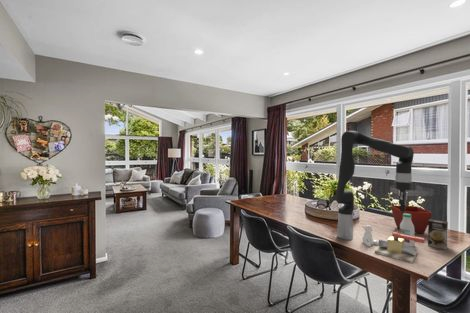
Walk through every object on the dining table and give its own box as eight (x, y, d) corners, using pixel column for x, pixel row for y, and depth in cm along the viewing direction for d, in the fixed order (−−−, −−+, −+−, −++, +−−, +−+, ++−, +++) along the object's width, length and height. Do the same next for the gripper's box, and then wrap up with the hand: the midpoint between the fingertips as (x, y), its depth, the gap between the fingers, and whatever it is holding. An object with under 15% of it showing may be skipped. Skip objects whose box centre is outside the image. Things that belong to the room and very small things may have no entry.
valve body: (377, 248, 140) (377, 236, 140) (381, 245, 145) (381, 234, 145) (412, 257, 128) (412, 244, 127) (415, 253, 132) (415, 241, 132)
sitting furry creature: (368, 247, 146) (368, 228, 146) (357, 242, 154) (357, 224, 154) (380, 245, 148) (380, 226, 148) (368, 240, 157) (368, 223, 156)
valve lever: (391, 238, 136) (391, 233, 136) (393, 237, 139) (393, 231, 139) (423, 245, 125) (423, 239, 125) (424, 243, 128) (424, 238, 128)
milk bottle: (408, 242, 152) (408, 212, 152) (417, 247, 145) (417, 215, 145) (396, 242, 152) (396, 212, 152) (405, 247, 145) (405, 215, 144)
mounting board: (374, 252, 137) (374, 250, 137) (382, 245, 148) (382, 243, 148) (412, 263, 124) (412, 260, 124) (417, 253, 135) (417, 251, 135)
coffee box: (427, 245, 147) (427, 220, 147) (428, 243, 152) (428, 218, 151) (447, 249, 140) (447, 223, 140) (447, 246, 145) (447, 221, 145)
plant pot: (432, 235, 165) (432, 212, 165) (402, 234, 169) (402, 211, 169) (417, 227, 184) (417, 206, 184) (390, 226, 188) (390, 205, 187)
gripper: (410, 182, 123) (409, 215, 124) (413, 180, 133) (412, 210, 134) (393, 181, 128) (392, 212, 129) (397, 179, 138) (396, 207, 139)
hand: (402, 211), depth 131 cm, fingers closed
